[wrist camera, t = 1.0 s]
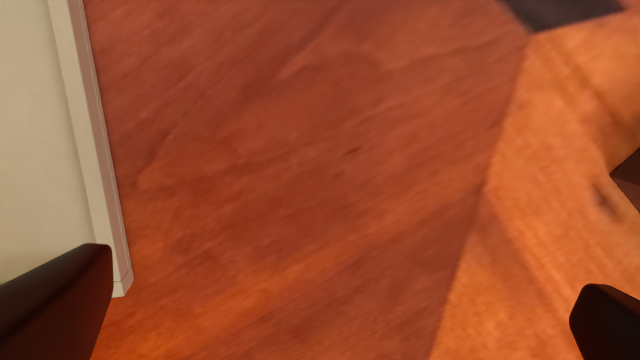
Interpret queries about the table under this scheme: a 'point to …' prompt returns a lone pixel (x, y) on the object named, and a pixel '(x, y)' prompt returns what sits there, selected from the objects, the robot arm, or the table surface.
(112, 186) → the tray
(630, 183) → the stand
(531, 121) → the table surface
